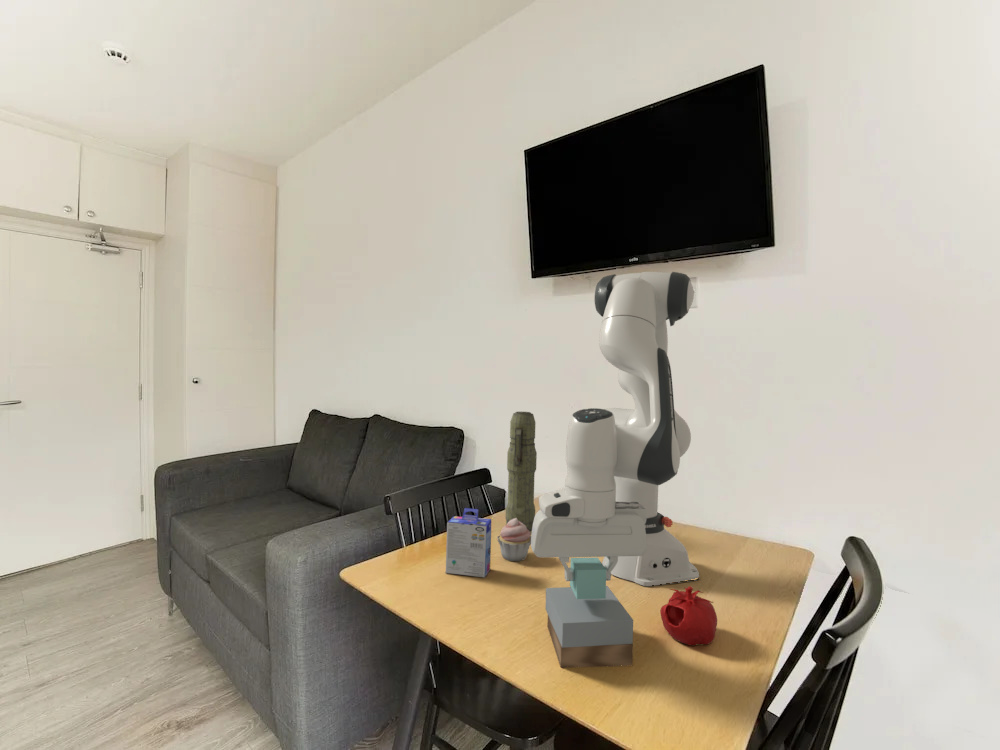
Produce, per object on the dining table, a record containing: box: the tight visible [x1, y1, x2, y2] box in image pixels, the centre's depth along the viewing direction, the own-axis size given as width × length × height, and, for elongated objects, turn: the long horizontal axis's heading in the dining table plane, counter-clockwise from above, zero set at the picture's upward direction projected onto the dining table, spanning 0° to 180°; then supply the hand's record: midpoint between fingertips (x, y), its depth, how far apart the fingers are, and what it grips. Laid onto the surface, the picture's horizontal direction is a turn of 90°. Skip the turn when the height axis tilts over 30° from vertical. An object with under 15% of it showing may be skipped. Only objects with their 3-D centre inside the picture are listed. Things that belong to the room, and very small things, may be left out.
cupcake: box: [497, 518, 531, 562], centre depth 119 cm, size 9×9×10 cm
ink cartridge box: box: [445, 507, 492, 578], centre depth 110 cm, size 10×6×14 cm, turn 79°
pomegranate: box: [660, 585, 718, 646], centre depth 86 cm, size 10×10×9 cm
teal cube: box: [569, 557, 607, 599], centre depth 82 cm, size 5×5×5 cm
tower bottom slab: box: [546, 615, 634, 669], centre depth 82 cm, size 12×12×4 cm
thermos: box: [505, 411, 538, 532], centre depth 141 cm, size 9×12×35 cm
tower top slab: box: [545, 585, 634, 648], centre depth 82 cm, size 12×12×4 cm
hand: (587, 579), depth 82 cm, fingers closed on teal cube, 5 cm apart
